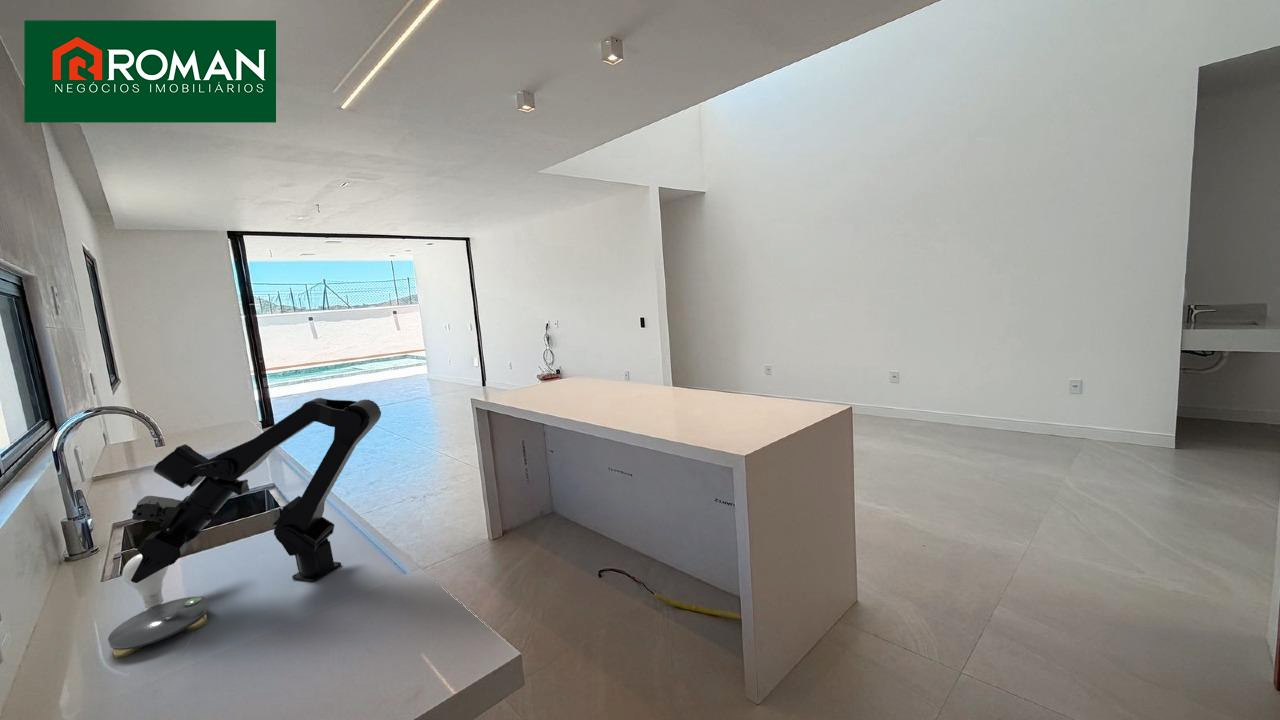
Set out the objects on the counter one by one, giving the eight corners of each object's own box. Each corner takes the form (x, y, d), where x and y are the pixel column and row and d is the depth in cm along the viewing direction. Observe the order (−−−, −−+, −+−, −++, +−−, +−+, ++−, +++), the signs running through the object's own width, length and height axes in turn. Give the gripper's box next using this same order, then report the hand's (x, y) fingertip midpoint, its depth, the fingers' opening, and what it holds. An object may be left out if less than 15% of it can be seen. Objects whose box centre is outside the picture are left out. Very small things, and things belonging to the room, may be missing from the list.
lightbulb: (184, 598, 100) (172, 546, 99) (144, 619, 94) (131, 564, 93) (164, 595, 102) (152, 544, 101) (124, 614, 97) (110, 561, 95)
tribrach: (228, 613, 94) (225, 600, 94) (140, 663, 82) (137, 649, 81) (182, 605, 98) (179, 592, 98) (92, 652, 86) (89, 638, 85)
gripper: (179, 467, 106) (121, 532, 102) (140, 496, 89) (69, 574, 86) (233, 493, 110) (179, 556, 107) (206, 526, 94) (140, 601, 90)
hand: (144, 570), depth 97 cm, fingers open, 9 cm apart
